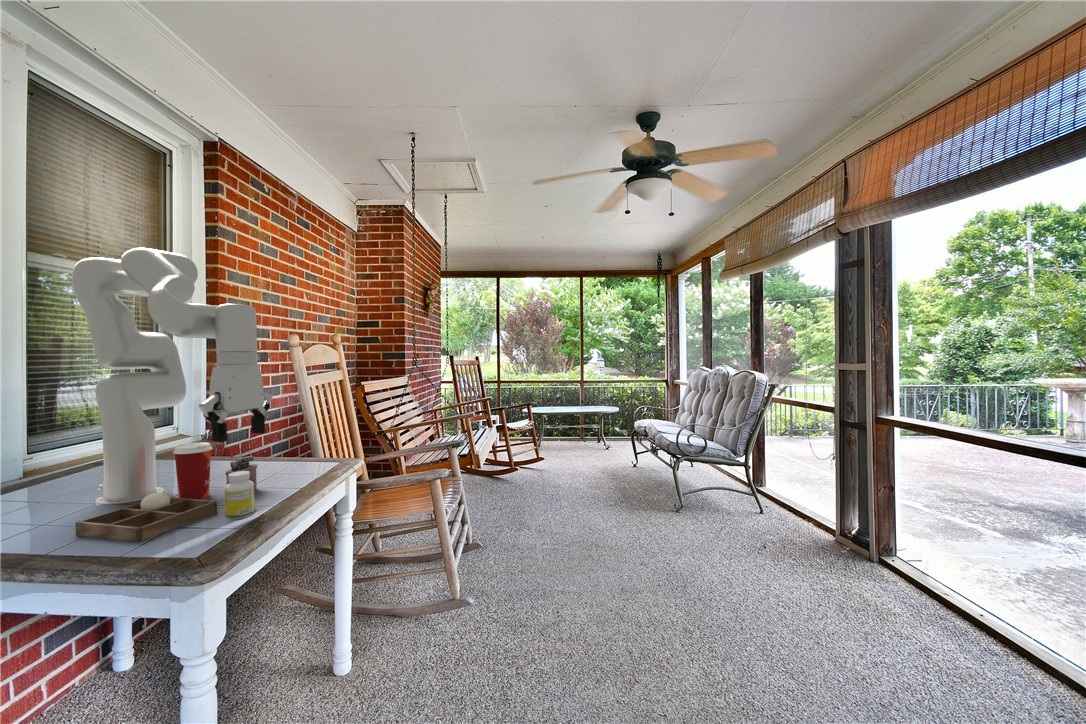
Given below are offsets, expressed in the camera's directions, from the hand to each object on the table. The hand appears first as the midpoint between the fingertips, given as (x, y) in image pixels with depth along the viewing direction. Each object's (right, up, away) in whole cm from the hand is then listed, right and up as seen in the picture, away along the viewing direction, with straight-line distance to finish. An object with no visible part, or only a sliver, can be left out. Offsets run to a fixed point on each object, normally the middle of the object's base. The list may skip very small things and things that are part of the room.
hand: (239, 437), depth 98 cm
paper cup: (-19, -18, +11) cm, 28 cm away
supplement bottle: (0, -18, +1) cm, 18 cm away
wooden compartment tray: (-15, -18, -5) cm, 24 cm away
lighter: (-9, -18, +14) cm, 24 cm away
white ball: (-18, -17, -1) cm, 25 cm away
